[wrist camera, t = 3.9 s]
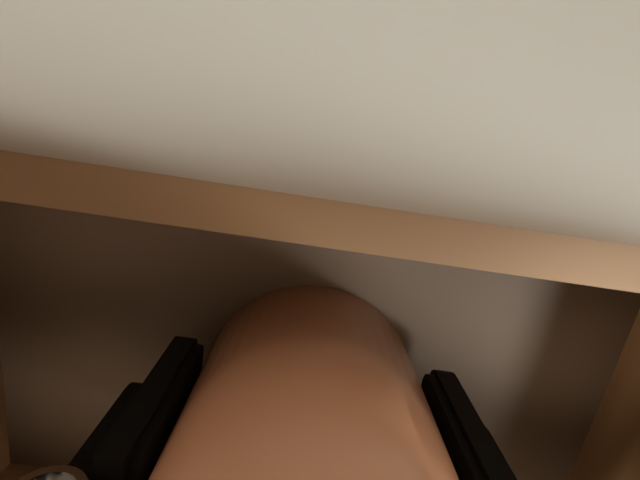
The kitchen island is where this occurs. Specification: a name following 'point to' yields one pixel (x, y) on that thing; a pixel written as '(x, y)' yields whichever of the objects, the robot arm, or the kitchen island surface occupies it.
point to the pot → (306, 398)
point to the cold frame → (326, 201)
